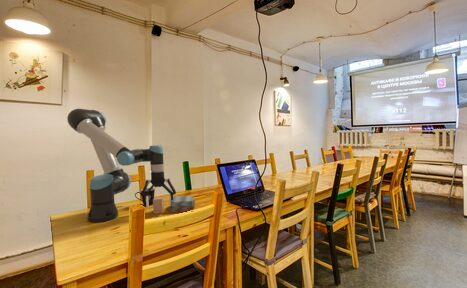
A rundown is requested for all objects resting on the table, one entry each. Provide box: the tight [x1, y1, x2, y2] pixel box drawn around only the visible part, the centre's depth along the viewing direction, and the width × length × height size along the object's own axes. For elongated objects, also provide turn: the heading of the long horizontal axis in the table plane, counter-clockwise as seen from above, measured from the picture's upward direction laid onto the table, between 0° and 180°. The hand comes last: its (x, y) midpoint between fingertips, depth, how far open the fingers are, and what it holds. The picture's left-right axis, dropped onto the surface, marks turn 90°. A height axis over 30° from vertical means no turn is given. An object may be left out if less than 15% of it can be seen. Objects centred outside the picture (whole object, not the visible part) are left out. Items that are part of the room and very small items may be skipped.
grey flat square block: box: [169, 195, 196, 213], centre depth 151 cm, size 14×14×6 cm
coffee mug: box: [134, 187, 156, 207], centre depth 161 cm, size 12×9×10 cm
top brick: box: [152, 196, 165, 214], centre depth 146 cm, size 5×5×8 cm
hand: (159, 206), depth 146 cm, fingers open, 13 cm apart
